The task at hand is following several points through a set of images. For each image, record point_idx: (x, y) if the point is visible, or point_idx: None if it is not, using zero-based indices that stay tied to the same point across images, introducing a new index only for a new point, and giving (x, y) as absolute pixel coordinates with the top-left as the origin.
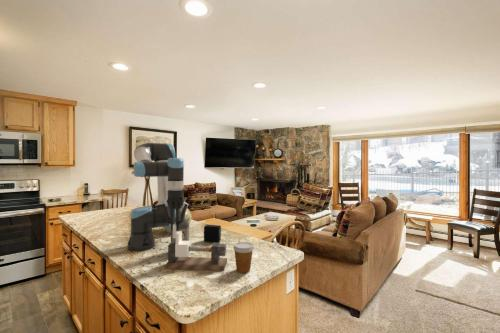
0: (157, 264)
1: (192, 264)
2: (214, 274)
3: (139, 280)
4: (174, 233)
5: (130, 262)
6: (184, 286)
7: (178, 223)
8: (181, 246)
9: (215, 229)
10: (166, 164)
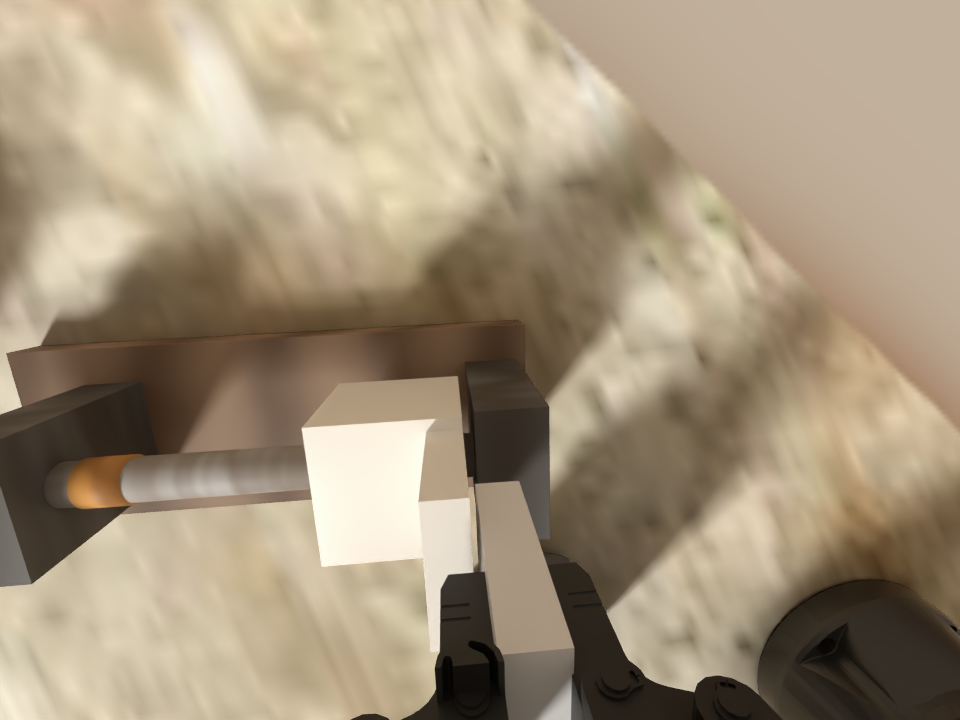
0: (607, 384)
1: (300, 354)
2: (90, 270)
3: (625, 103)
4: (503, 523)
5: (813, 389)
6: (240, 34)
7: (437, 709)
8: (384, 413)
9: None
10: None
